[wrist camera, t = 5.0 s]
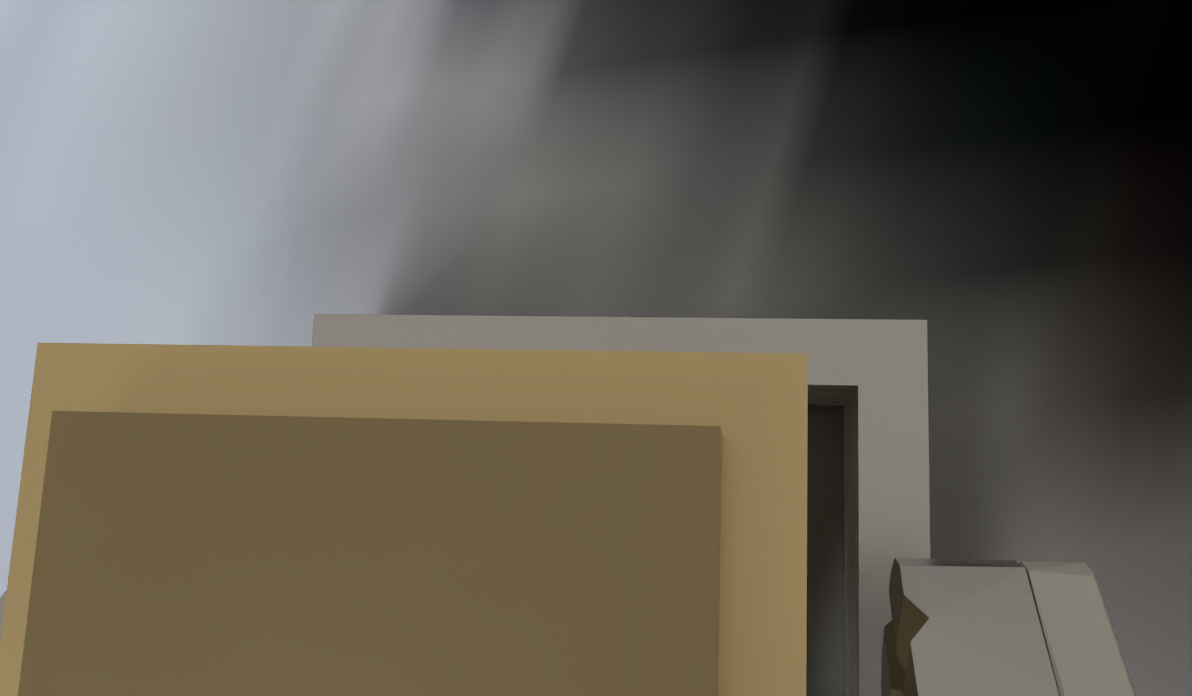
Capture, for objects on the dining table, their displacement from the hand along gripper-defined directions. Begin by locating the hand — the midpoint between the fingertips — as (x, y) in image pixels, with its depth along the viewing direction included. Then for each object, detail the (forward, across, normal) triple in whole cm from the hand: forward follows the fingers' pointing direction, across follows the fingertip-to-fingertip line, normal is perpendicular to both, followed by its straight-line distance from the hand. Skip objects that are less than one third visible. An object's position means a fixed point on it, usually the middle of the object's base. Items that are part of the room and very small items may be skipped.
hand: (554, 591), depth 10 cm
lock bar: (+3, 0, +4) cm, 5 cm away
